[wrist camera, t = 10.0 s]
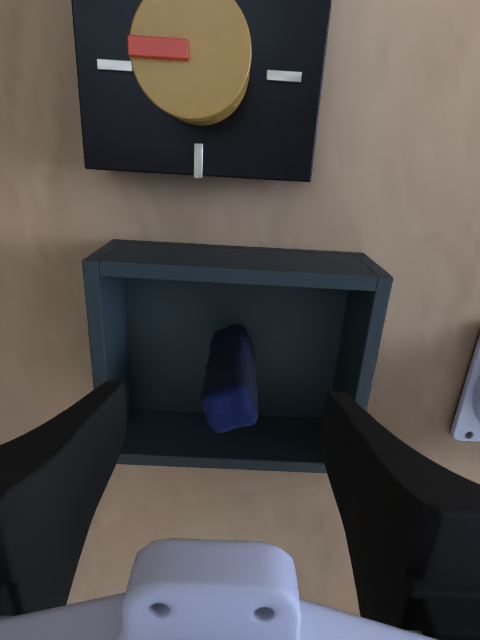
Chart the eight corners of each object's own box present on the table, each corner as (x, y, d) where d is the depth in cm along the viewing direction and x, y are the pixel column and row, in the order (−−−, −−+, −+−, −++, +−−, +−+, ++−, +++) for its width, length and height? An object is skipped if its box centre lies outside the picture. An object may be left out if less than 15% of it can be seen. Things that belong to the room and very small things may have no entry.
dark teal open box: (364, 253, 22) (394, 277, 18) (335, 422, 26) (353, 475, 22) (112, 238, 22) (81, 260, 17) (123, 412, 26) (99, 463, 22)
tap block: (324, -21, 18) (338, -50, 15) (302, 181, 21) (311, 184, 18) (88, -38, 17) (63, -70, 15) (102, 169, 20) (83, 171, 18)
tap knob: (252, 15, 16) (256, -25, 12) (246, 128, 17) (247, 122, 14) (148, 7, 16) (122, -34, 12) (151, 122, 17) (128, 115, 14)
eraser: (256, 354, 24) (262, 427, 17) (219, 363, 24) (211, 438, 17) (246, 320, 23) (248, 384, 16) (208, 330, 23) (195, 396, 17)
